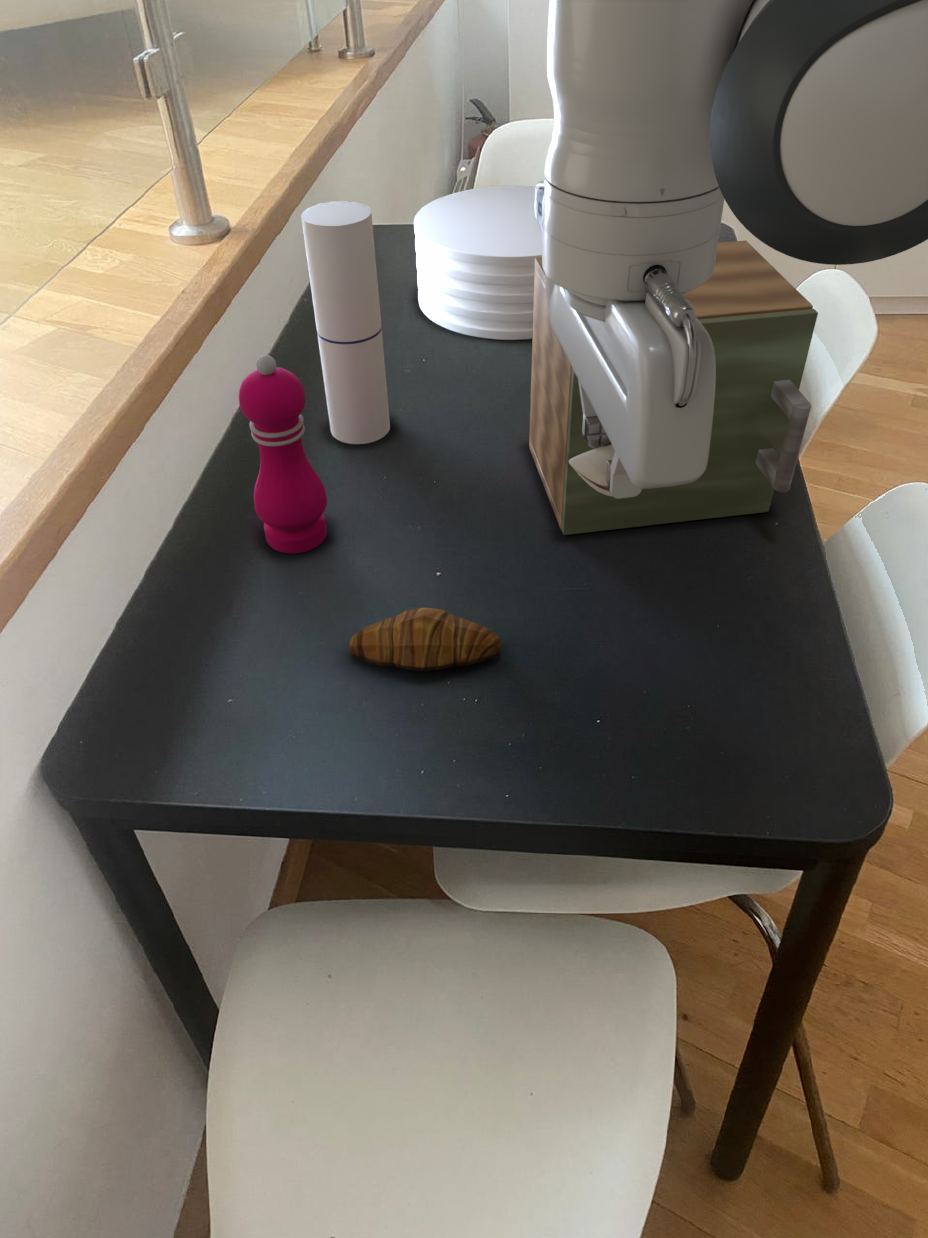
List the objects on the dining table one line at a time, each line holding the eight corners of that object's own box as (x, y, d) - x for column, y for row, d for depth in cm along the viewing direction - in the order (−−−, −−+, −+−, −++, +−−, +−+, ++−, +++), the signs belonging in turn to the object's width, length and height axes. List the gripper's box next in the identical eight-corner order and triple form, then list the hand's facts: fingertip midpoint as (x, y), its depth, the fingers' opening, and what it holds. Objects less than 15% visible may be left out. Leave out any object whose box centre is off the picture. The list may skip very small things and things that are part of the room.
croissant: (345, 685, 79) (339, 643, 76) (354, 631, 84) (348, 590, 81) (502, 684, 79) (503, 643, 76) (501, 630, 84) (501, 589, 81)
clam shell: (638, 511, 55) (642, 476, 53) (557, 496, 56) (559, 462, 55) (653, 473, 58) (658, 438, 56) (576, 459, 59) (578, 425, 58)
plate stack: (488, 247, 151) (488, 173, 144) (640, 285, 139) (649, 206, 131) (380, 309, 135) (373, 229, 127) (541, 358, 123) (544, 272, 115)
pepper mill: (343, 521, 97) (319, 343, 83) (313, 563, 92) (282, 380, 78) (281, 509, 99) (248, 333, 85) (248, 549, 94) (207, 368, 80)
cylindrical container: (323, 441, 108) (292, 224, 91) (339, 410, 114) (312, 199, 97) (382, 446, 107) (361, 227, 90) (395, 414, 113) (378, 202, 96)
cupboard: (764, 507, 97) (813, 305, 82) (560, 529, 95) (573, 327, 80) (711, 428, 109) (746, 239, 94) (529, 447, 106) (534, 257, 92)
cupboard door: (789, 542, 92) (845, 339, 78) (575, 567, 90) (592, 363, 75) (765, 507, 97) (814, 308, 82) (561, 530, 95) (573, 330, 80)
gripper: (770, 313, 39) (720, 564, 49) (633, 167, 54) (615, 381, 64) (627, 328, 39) (604, 579, 48) (528, 176, 54) (525, 391, 63)
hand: (609, 465), depth 56 cm, fingers closed on clam shell, 4 cm apart
